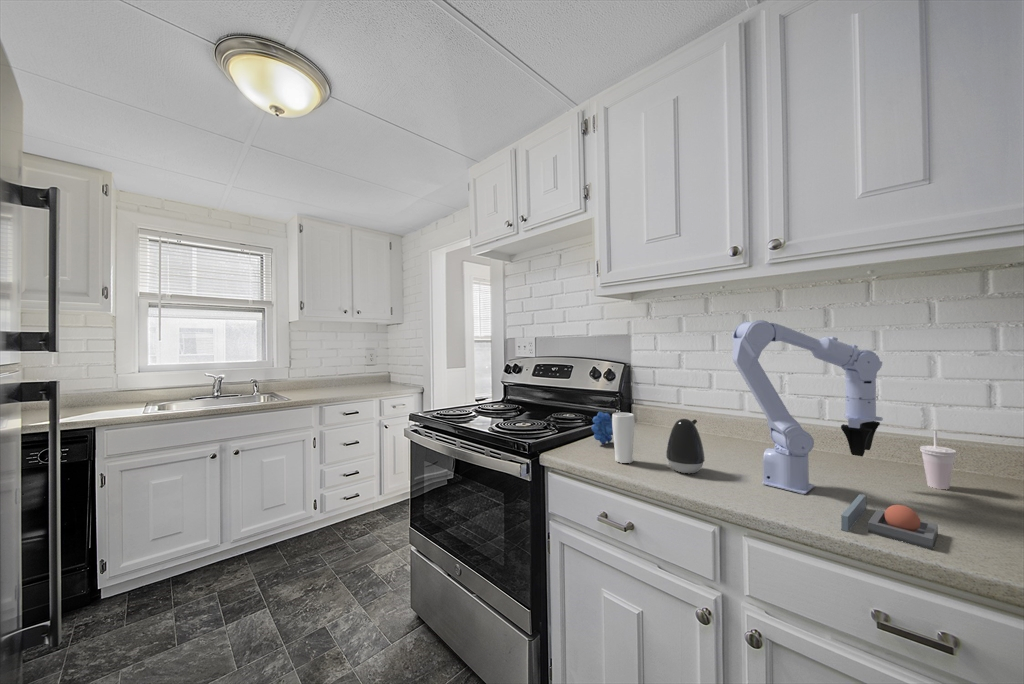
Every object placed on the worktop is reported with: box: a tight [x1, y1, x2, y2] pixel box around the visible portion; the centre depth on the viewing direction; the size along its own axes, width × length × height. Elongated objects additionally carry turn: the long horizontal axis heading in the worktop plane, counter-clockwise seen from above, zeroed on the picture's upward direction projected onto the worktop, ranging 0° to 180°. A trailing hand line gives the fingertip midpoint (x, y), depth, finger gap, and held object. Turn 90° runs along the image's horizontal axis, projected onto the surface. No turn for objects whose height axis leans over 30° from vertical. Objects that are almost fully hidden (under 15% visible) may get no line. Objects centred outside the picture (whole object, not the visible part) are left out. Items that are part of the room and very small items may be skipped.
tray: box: [867, 509, 939, 551], centre depth 78 cm, size 9×9×2 cm
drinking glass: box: [611, 411, 635, 464], centre depth 126 cm, size 7×7×15 cm
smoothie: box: [919, 430, 958, 491], centre depth 100 cm, size 6×6×14 cm
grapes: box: [591, 411, 613, 445], centre depth 146 cm, size 12×7×12 cm, turn 125°
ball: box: [885, 504, 921, 532], centre depth 78 cm, size 5×5×5 cm
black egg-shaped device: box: [665, 418, 706, 475], centre depth 116 cm, size 10×10×15 cm
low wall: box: [840, 493, 867, 533], centre depth 85 cm, size 1×16×3 cm, turn 129°
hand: (860, 452), depth 100 cm, fingers open, 7 cm apart
